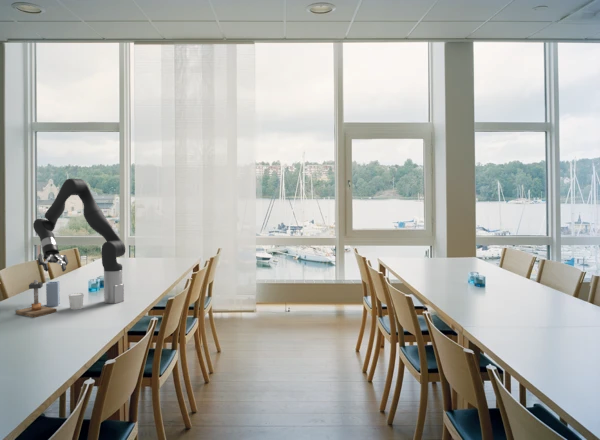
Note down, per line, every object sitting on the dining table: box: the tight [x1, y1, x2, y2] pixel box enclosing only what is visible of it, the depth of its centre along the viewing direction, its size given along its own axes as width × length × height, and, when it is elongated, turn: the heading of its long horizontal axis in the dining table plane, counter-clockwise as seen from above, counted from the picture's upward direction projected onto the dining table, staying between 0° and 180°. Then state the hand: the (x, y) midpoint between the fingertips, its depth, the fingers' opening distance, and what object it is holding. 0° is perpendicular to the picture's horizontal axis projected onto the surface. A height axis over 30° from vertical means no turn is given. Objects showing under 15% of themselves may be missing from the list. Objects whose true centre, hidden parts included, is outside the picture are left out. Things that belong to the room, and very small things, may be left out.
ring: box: [28, 281, 44, 290], centre depth 207 cm, size 5×5×2 cm
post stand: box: [15, 279, 58, 318], centre depth 207 cm, size 14×11×16 cm
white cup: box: [68, 292, 85, 310], centre depth 217 cm, size 7×7×7 cm
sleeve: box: [45, 280, 61, 308], centre depth 222 cm, size 5×5×12 cm
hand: (55, 270), depth 227 cm, fingers open, 8 cm apart
